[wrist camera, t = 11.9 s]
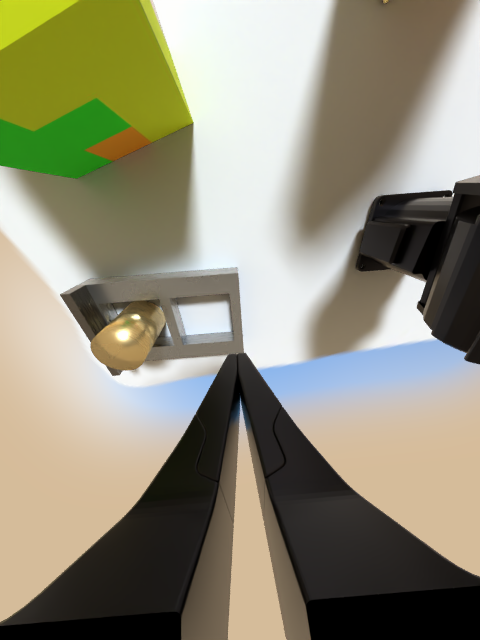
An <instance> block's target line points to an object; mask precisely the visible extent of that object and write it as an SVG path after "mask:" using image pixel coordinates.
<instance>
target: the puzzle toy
mask: <svg viewBox="0 0 480 640" xmlns="http://www.w3.org/2000/svg"><path fill="white" fill-rule="evenodd" d="M192 123H193V120H192V117H191V114H190V111H189V108H188V105H187V102H186V99H185V96H184V93H183V90H182V87H181V84H180V81H179V78H178V75H177V72H176V69H175V66H174V63H173V60H172V57H171V54H170V51H169V48H168V45H167V42H166V39H165V36H164V33H163V30H162V27H161V24H160V21H159V18H158V15H157V12H156V9H155V6H154V3H153V0H0V166H6V167H11V168H17V169H23V170H29V171H35V172H40V173H46V174H52V175H58V176H64V177H70V178H75V179H77V178H79V177H81V176H83V175H85V174H88V173H90V172H92V171H94V170H96V169H98V168H100V167H102V166H104V165H106V164H108V163H111V162H113V161H115V160H117V159H119V158H121V157H123V156H125V155H127V154H129V153H131V152H134V151H136V150H138V149H140V148H142V147H144V146H146V145H148V144H150V143H152V142H154V141H157V140H159V139H161V138H163V137H165V136H167V135H169V134H171V133H173V132H175V131H177V130H180V129H182V128H184V127H186V126H188V125H190V124H192Z"/></svg>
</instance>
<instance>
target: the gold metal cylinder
mask: <svg viewBox="0 0 480 640" xmlns="http://www.w3.org/2000/svg"><path fill="white" fill-rule="evenodd" d="M165 322H166V319H165V316H164V313H163V312H162V310H161V309H160V308H159V307H158V306H156V305H155V304H153V303H151V302H148V301H143V300H141V301H134V302H132V303H130V304H129V305H128V306H127V307H126V308H125V309H124V310H123V311H122V312H121V313H120V314H119V315H118V316H116V317H115V318H114V319H113V320H112V321H111V322H110V323H109V324H108V325H107V326H106V327H105V328H104V329H103V330H102V331H101V332H99V333H98V334H97V335H96V336H95V337H94V338H93V340H92V341H91V351H92V353H93V354H94V356H95V357H96V358H97V359H98V360H99V361H100V362H101V363H103V364H105V365H106V366H109V367H111V368H114V369H118V370H133V369H136V368H138V367H140V366H141V365H142V364H143V362H144V360H145V359H146V357H147V355H148V353H149V352H150V350H151V348H152V346H153V345H154V343H155V341H156V339H157V338H158V336H159V334H160V333H161V331H162V329H163V327H164V326H165Z"/></svg>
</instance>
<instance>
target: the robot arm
mask: <svg viewBox="0 0 480 640" xmlns="http://www.w3.org/2000/svg"><path fill="white" fill-rule="evenodd" d="M453 193H455V194H454V197H452V191H450V190H446V191H433V192H420V193H407V194H393V195H381V196H378V197H377V198H376V199H375V200H374V203H373V206H372V210H371V213H370V217H369V220H368V224H367V225H366V229H365V233H364V236H363V240H362V243H361V247H360V251H359V252H360V253H359V256H358V260H357V264H356V269H357V270H358V271H374V270H386V269H393V270H396V271H398V272H401V273H403V274H406V275H409V276H411V277H414V278H416V279H419V280H421V281H424V282H426V285H425V288H424V291H423V294H422V297H421V300H420V301H418V304H417V309H418V310H419V311H420V312H421V313H422V315H423V319H424V321H425V323H426V324H427V325H428V326H429V328H430V329H431V330H432V332H431V334H432V335H433V336H434V337H435V338H437V339H438V340H440V341H442V342H443V343H445V344H447V345H449V346H451V347H453V348H455V349H458V350H460V351H463V352H465V353H467V354H466V356H465V358H464V359H465V360H466V361H468V362H472V363H476V364H480V175H479V176H476V177H472V178H469V179H465V180H462V181H458V182H456V183H455V186H454V190H453ZM444 195H445V196H444ZM381 199H382V203H381V204H380V205H379V202H380V200H381ZM362 264H363V266H362V267H361V265H362ZM240 398H241V405H242V410H243V415H244V420H245V426H246V431H247V436H248V441H249V447H250V452H251V457H252V462H253V468H254V473H255V478H256V483H257V488H258V493H259V498H260V504H261V509H262V515H263V520H264V525H265V530H266V535H267V540H268V546H269V551H270V557H271V562H272V567H273V572H274V577H275V583H276V588H277V593H278V598H279V604H280V609H281V614H282V620H283V625H284V630H285V636H286V639H287V640H480V577H479V576H477V575H474V574H472V573H470V572H468V571H465V570H464V569H462V568H460V567H458V566H457V565H455V564H454V563H452V562H451V561H449V560H448V559H446V558H444V557H443V556H442V555H440V554H439V553H438V552H436V551H435V550H434V549H432V548H431V547H430V546H428V545H427V544H425V543H424V542H423V541H421V540H420V539H419V538H417V537H416V536H414V535H413V534H412V533H410V532H409V531H408V530H406V529H405V528H404V527H402V526H401V525H400V524H398V523H397V522H395V521H394V520H393V519H392V518H390V517H389V516H387V515H386V514H385V513H383V512H382V511H381V510H379V509H378V508H376V507H375V506H374V505H372V504H371V503H370V502H368V501H367V500H366V499H364V498H363V497H362V496H360V495H359V494H358V493H357V492H355V491H354V490H353V489H352V488H351V487H350V486H349V485H348V484H347V483H346V482H345V481H344V480H343V479H342V478H341V477H340V476H339V475H338V474H337V472H336V471H335V470H334V469H333V468H332V467H331V466H330V464H329V463H328V462H327V461H326V460H325V459H324V457H323V456H322V455H321V454H320V453H319V452H318V451H317V449H316V448H315V447H314V446H313V445H312V444H311V443H310V441H309V440H308V439H307V438H306V437H305V436H304V434H303V433H302V432H301V431H300V429H299V428H298V427H297V426H296V424H295V423H294V422H293V420H292V419H291V417H290V416H289V415H288V413H287V412H286V410H285V409H284V408H283V407H282V405H281V403H280V402H279V400H278V399H277V398H276V396H275V395H274V393H273V392H272V390H271V389H270V387H269V386H268V385H267V383H266V382H265V380H264V379H263V377H262V376H261V374H260V373H259V372H258V370H257V369H256V367H255V366H254V364H253V363H252V361H251V360H250V359H249V357H248V356H247V354H246V353H238V354H236V353H235V354H228V356H227V357H226V359H225V361H224V363H223V365H222V367H221V368H220V370H219V372H218V374H217V376H216V377H215V379H214V381H213V383H212V385H211V387H210V388H209V390H208V392H207V394H206V396H205V398H204V399H203V401H202V403H201V405H200V407H199V408H198V410H197V412H196V415H195V416H194V418H193V420H192V421H191V423H190V425H189V426H188V428H187V430H186V431H185V433H184V435H183V436H182V438H181V440H180V441H179V443H178V444H177V446H176V447H175V449H174V450H173V452H172V453H171V455H170V456H169V457H168V459H167V460H166V462H165V463H164V465H163V466H162V468H161V469H160V471H159V472H158V473H157V475H156V476H155V478H154V479H153V481H152V482H151V484H150V485H149V487H148V488H147V489H146V491H145V492H144V494H143V495H142V496H141V498H140V499H139V500H138V501H137V503H136V504H135V505H134V506H133V507H132V509H131V510H130V511H129V512H128V513H127V514H126V515H125V516H124V517H123V518H122V519H121V520H120V521H119V522H118V523H116V524H115V525H114V527H112V528H111V529H110V530H109V531H108V532H107V533H105V534H104V535H103V536H102V537H101V538H100V539H99V540H98V541H97V542H96V543H95V544H93V545H92V546H91V547H90V548H89V549H88V550H87V551H86V552H85V553H84V554H82V556H80V557H79V558H78V559H77V560H76V561H75V562H74V563H73V564H72V565H70V566H69V567H68V568H67V569H66V570H65V571H64V572H63V573H62V574H61V575H59V576H58V577H57V578H56V579H55V580H54V581H53V582H52V583H51V584H50V585H49V586H48V587H46V588H45V589H44V590H43V591H42V592H41V593H40V594H39V595H37V596H36V597H35V598H34V599H33V600H31V601H30V602H29V603H28V604H27V605H26V606H24V607H23V608H22V609H20V610H19V611H17V612H16V613H14V614H13V615H12V616H10V617H9V618H7V619H5V620H3V621H2V622H0V640H228V618H229V600H230V583H231V565H232V546H233V545H232V544H233V528H234V526H233V523H234V508H235V507H234V506H235V489H236V470H237V453H238V434H239V416H240Z"/></svg>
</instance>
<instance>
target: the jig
mask: <svg viewBox="0 0 480 640" xmlns="http://www.w3.org/2000/svg"><path fill="white" fill-rule="evenodd" d="M217 294H230V304H231V313H232V323H233V332H224V333H211V334H199V335H187V336H186V333H185V330H184V326H183V323H182V319H181V315H180V312H179V308H178V305H177V301H176V298H179V297H192V296H204V295H217ZM60 296H61V297H62V299H63V300H64V302H65V303H66V305H67V306H68V308H69V309H70V311H71V313H72V314H73V316H74V317H75V319H76V320H77V322H78V323H79V325H80V326H81V328H82V329H83V331H84V333H85V334H86V336H87V337H88V339H89V340H90V342H91V341H92V340H93V338H94V337H95V336H96V335H97V334H98V333H99V332H101V331H102V330H103V329H104V328H105V327H106V326H107V325H108V324H109V323H110V322H111V321H112V320H113V319H114V318H115V317H116V316H118V315H117V313H116V311H115V309H114V307H113V305H112V303H116V302H129V301H141V300H154V299H159V301H160V304H161V307H162V310H163V313H164V316H165V319H166V322H167V325H168V328H169V331H170V334H171V337H162V338H157V339H156V341H155V343H154V345H153V346H152V348H151V350H150V352H149V353H148V355H147V357H146V359H145V360H144V361H150V360H162V359H174V358H186V357H198V356H210V355H222V354H235V353H244V349H243V335H242V321H241V307H240V293H239V279H238V268H237V267H236V268H223V269H210V270H197V271H185V272H172V273H159V274H146V275H134V276H121V277H108V278H95V279H88V280H87V281H85V282H83V283H81V284H79V285H77V286H75V287H73V288H71V289H69V290H68V291H66V292H64V293H62V294H60ZM107 368H108V370H109V371H110V373H111V374H112V376H116V375H120V374H121V372H122V371H123V370H118V369H114V368H111V367H109V366H107Z"/></svg>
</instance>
